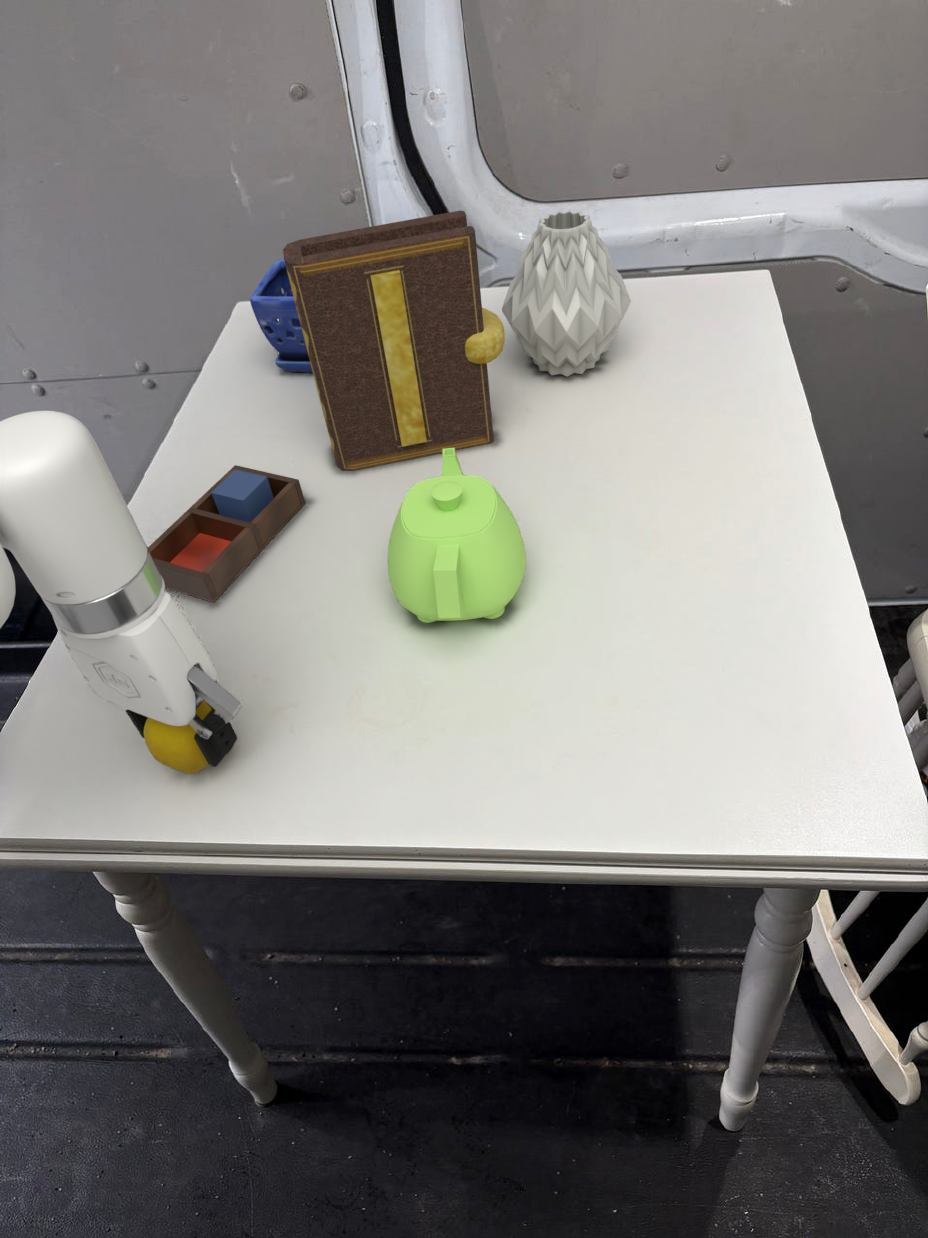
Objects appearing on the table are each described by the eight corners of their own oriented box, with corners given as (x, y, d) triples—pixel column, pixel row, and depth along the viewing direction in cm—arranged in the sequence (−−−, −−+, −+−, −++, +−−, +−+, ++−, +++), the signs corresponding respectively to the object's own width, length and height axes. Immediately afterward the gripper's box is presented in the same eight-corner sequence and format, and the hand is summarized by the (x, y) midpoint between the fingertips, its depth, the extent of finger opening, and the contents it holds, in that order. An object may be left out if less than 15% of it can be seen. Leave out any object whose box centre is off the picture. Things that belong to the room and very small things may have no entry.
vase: (615, 397, 106) (620, 250, 92) (492, 388, 110) (479, 246, 97) (637, 335, 116) (644, 194, 103) (524, 328, 121) (516, 193, 107)
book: (338, 478, 99) (285, 271, 82) (332, 440, 105) (281, 238, 88) (518, 442, 101) (504, 230, 83) (502, 406, 107) (486, 201, 89)
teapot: (402, 529, 92) (382, 431, 83) (524, 520, 90) (517, 420, 81) (387, 667, 78) (361, 567, 69) (531, 659, 77) (524, 556, 68)
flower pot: (380, 333, 124) (365, 252, 116) (359, 379, 115) (342, 296, 107) (295, 335, 127) (275, 256, 118) (269, 381, 118) (244, 299, 109)
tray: (213, 602, 86) (203, 578, 84) (147, 582, 90) (135, 558, 87) (305, 503, 97) (298, 479, 94) (243, 488, 100) (235, 464, 98)
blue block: (223, 523, 95) (210, 492, 92) (246, 500, 98) (235, 468, 94) (254, 532, 93) (243, 500, 90) (277, 508, 96) (267, 476, 93)
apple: (156, 792, 70) (119, 736, 65) (175, 731, 75) (142, 673, 69) (230, 789, 70) (199, 732, 64) (245, 727, 74) (216, 669, 69)
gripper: (-24, 592, 59) (85, 742, 71) (163, 657, 52) (246, 810, 65) (53, 526, 63) (143, 679, 76) (235, 580, 57) (299, 736, 69)
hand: (190, 738), depth 70 cm, fingers closed on apple, 6 cm apart
